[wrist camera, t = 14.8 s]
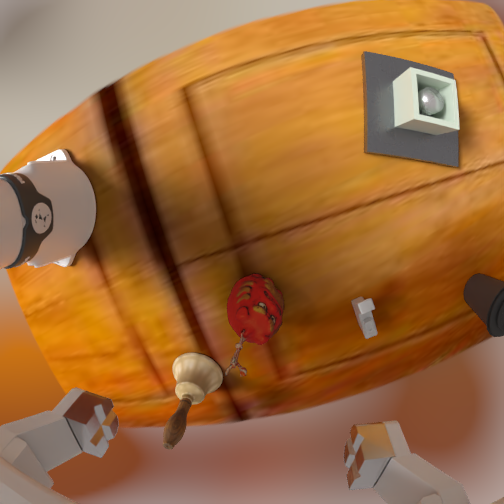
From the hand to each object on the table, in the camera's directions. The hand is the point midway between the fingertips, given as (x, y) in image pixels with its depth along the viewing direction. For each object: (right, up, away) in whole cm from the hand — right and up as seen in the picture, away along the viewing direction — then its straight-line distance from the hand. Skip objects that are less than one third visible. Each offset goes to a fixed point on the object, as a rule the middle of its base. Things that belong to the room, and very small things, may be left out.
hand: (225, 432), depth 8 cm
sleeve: (+22, +24, +23) cm, 40 cm away
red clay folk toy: (+2, 0, +32) cm, 32 cm away
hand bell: (-8, -14, +36) cm, 40 cm away
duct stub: (+22, +25, +24) cm, 41 cm away
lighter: (+16, -1, +31) cm, 35 cm away
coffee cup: (+36, 0, +29) cm, 47 cm away
